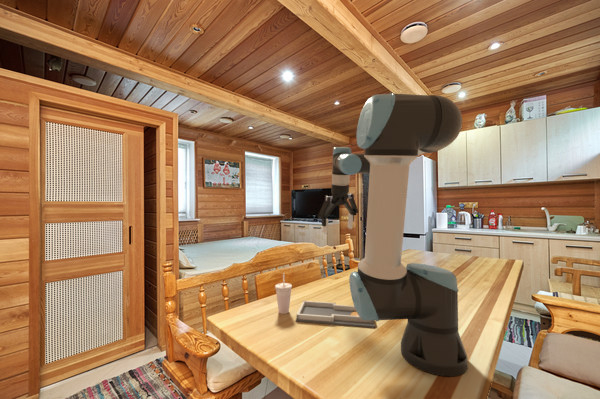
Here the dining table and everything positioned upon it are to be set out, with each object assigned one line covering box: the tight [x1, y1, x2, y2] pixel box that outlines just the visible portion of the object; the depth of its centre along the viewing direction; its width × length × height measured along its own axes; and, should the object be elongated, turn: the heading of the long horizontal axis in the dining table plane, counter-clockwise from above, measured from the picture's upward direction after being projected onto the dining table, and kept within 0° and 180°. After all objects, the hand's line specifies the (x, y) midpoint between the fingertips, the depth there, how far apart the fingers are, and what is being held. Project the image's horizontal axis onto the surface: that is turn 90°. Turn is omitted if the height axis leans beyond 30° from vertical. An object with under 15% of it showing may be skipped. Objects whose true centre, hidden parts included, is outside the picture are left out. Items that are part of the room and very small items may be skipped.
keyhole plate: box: [295, 300, 376, 329], centre depth 89 cm, size 14×26×2 cm, turn 79°
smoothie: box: [274, 272, 293, 315], centre depth 93 cm, size 6×6×14 cm
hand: (337, 230), depth 112 cm, fingers open, 13 cm apart
